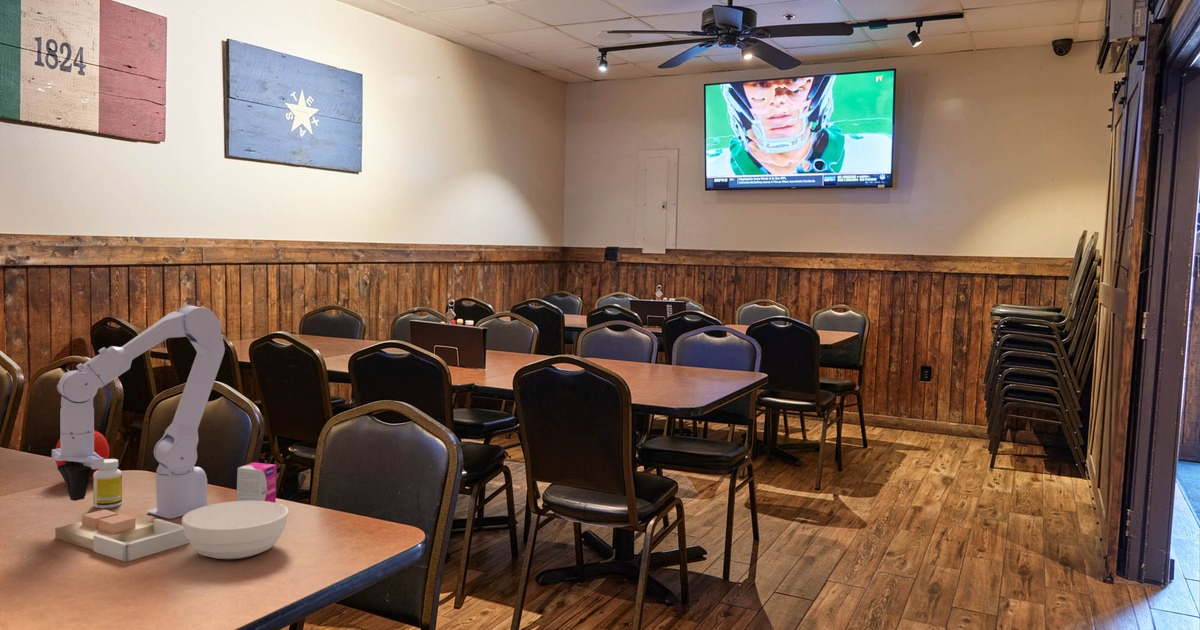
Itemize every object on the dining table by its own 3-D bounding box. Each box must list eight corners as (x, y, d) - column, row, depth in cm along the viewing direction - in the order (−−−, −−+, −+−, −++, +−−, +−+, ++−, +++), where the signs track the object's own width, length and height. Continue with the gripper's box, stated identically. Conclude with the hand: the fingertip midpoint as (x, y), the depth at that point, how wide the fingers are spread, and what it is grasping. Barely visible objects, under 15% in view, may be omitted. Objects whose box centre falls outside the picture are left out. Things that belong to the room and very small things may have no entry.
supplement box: (261, 525, 178) (261, 470, 177) (235, 522, 179) (235, 467, 178) (276, 517, 183) (277, 463, 183) (251, 514, 185) (251, 461, 184)
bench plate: (116, 522, 177) (116, 512, 176) (156, 534, 170) (156, 524, 170) (55, 538, 166) (55, 527, 166) (95, 551, 160) (95, 540, 160)
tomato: (77, 474, 213) (76, 422, 212) (118, 477, 212) (118, 425, 211) (43, 486, 201) (42, 431, 201) (86, 489, 200) (86, 434, 199)
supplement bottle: (127, 504, 189) (126, 460, 188) (101, 510, 184) (101, 465, 184) (113, 500, 192) (113, 456, 191) (88, 506, 187) (88, 461, 187)
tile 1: (104, 519, 172) (104, 509, 172) (118, 523, 170) (118, 513, 170) (81, 525, 168) (81, 514, 168) (95, 529, 166) (95, 518, 166)
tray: (157, 533, 170) (157, 518, 170) (189, 542, 166) (189, 527, 166) (93, 551, 160) (93, 535, 159) (125, 561, 155) (125, 545, 155)
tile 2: (121, 524, 169) (121, 514, 169) (135, 528, 167) (135, 518, 167) (98, 530, 166) (98, 519, 165) (112, 534, 163) (112, 523, 163)
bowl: (308, 544, 167) (308, 507, 167) (240, 575, 150) (240, 534, 150) (232, 531, 173) (232, 496, 173) (158, 560, 156) (158, 521, 156)
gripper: (35, 430, 172) (36, 497, 173) (77, 439, 165) (78, 510, 165) (72, 424, 178) (72, 490, 179) (114, 433, 171) (114, 501, 172)
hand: (77, 499), depth 172 cm, fingers closed
